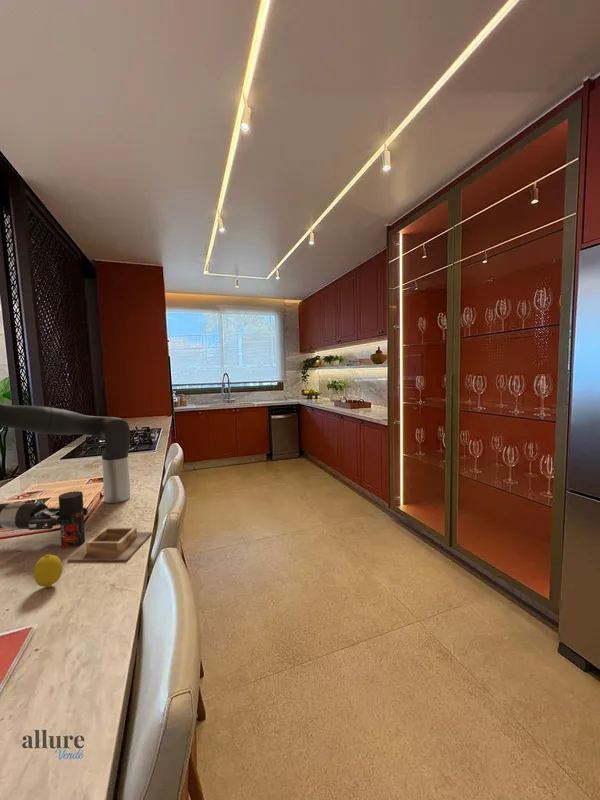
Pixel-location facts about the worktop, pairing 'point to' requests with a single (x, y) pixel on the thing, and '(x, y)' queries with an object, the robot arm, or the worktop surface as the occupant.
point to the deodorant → (74, 507)
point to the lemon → (47, 570)
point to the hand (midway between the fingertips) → (80, 515)
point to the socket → (111, 546)
